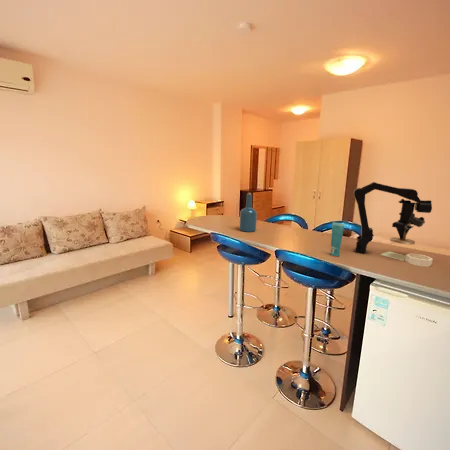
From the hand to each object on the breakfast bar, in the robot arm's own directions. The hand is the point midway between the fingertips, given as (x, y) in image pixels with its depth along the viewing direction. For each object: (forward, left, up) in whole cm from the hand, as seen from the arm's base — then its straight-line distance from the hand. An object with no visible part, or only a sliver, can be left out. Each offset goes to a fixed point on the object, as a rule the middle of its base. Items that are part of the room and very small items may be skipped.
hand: (402, 238), depth 149 cm
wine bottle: (-34, +96, -12) cm, 103 cm away
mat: (0, +2, -12) cm, 12 cm away
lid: (0, 0, -2) cm, 2 cm away
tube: (-29, +23, -12) cm, 39 cm away
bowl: (-2, -10, -12) cm, 15 cm away
